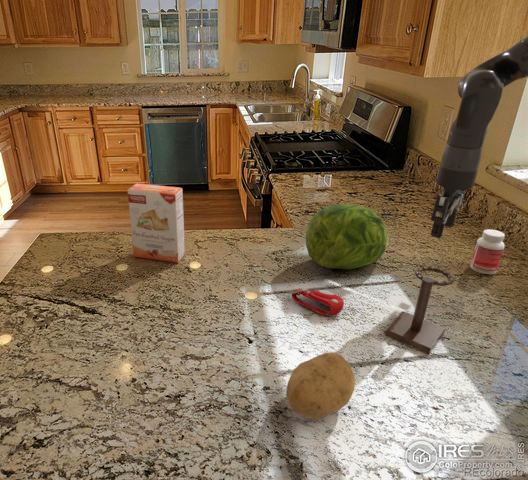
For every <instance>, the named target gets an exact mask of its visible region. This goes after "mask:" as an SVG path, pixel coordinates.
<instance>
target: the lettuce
mask: <svg viewBox="0 0 528 480" xmlns="http://www.w3.org/2000/svg"><path fill="white" fill-rule="evenodd" d="M388 245H389V232H388V229H387V226H386V223H385V222H384V221H383V219H382V217H380V215H378V214H377V213H376V212H375V211H374V210H372V209H369V208H367V207H365V206H362V205H360V204H353V203H352V204H351V203H333V204H329V205H327V206H326V207H324V208H321V209H319V210H318V211H317V212H316V213H315V214H313V215H312V217H311V219H310V220H309V222H308V223H307V226H306V231H305V247H306V250H307V254H308V256H309V258H311V260H312V261H313V262H314V263H315V264H317V265H318V266H320V267H321V268H326V269H327V268H328V269H341V270H355V269H359V268H362V267H365V266H368V265H371V264H374V263H376V262H377V261H378V260H380V259H381V257H382V256H383V255H384V254H385V252H386V250H387V248H388Z"/></svg>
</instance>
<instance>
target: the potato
mask: <svg viewBox="0 0 528 480" xmlns="http://www.w3.org/2000/svg"><path fill="white" fill-rule="evenodd" d="M355 386H356V376H355V373H354V371H353V369H352V366H351V364H350V362H349V361H348V360H347V359H346V358H344V357H343V355H342V354H339V353H337V352H335V351H332V352H330V351H329V352H324V353H321V354H319V355H316V356H314V357H312V358H310V359H308V360H306V361H305V360H304V361H303V362H301V363H299V364H298V365H297V366H296V367H295V368H294V369H293V370H292V372H291V374H290V377H289V379H288V381H287V385H286V390H285V396H286V401H287V403H288V405H289V407H290V409H291V410H292V411H293V412H295V413H297V414H298V415H300V416H302V417H303V418H307V419H309V420H320V419H322V418H325V417H327V416H329V415H332V414H334V413H337V412H338V411H339V410H341V409H342V408H344V407H346V405H348V404H349V401H350V400H351V398H352V396H353V394H354V392H355V388H356V387H355Z"/></svg>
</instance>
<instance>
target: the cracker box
mask: <svg viewBox="0 0 528 480" xmlns="http://www.w3.org/2000/svg"><path fill="white" fill-rule="evenodd" d="M183 191H184V190H183V188H182V187H177V186H167V185H157V184H147V183H137V182H135V184H133V185H132V186H131V187H129V188H128V189H127V200H128V210H129V220H130V221H129V222H130V230H131V243H132V252H133V257H135V258H141V259H149V260H153V261H154V260H155V261H161V262H167V263H174V264H179V262H180V261H181V260H182V259H183V257H184V256H185V255H186V249H185V247H186V246H185V219H184V196H183V195H184V193H183Z"/></svg>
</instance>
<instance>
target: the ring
mask: <svg viewBox="0 0 528 480" xmlns="http://www.w3.org/2000/svg"><path fill="white" fill-rule="evenodd" d="M425 271H436V272H438V273H442V274H444V276H447V278H448V279H447V280H443V281H440V280H434V282H433V285H435V286H449V285H452V284H453V283H454V281H455V277H454V276H453V274H452V273H451V272H449V271H447V270H446V269H443V268H440V267H436V266H428V265H427V266H421V267H418V268H417V270H416V271H415V274H416V277H417V278H418V279H420V280H421V281H422V279H423V278H424V277H425V276H424V275H423V274H422V273H423V272H425Z"/></svg>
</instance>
